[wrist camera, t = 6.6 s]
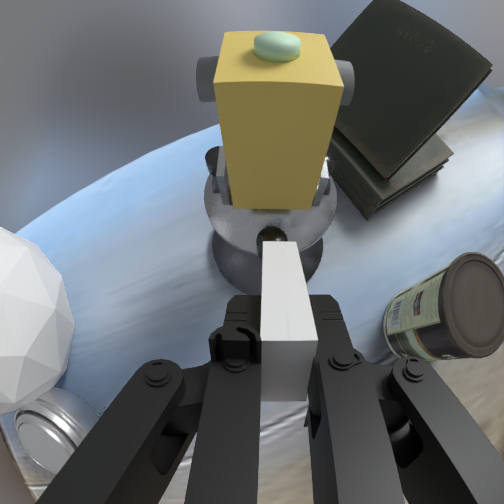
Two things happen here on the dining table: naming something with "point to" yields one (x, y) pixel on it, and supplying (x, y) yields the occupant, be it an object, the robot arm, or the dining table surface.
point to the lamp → (37, 355)
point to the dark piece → (398, 101)
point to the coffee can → (449, 312)
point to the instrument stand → (264, 225)
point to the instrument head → (275, 113)
